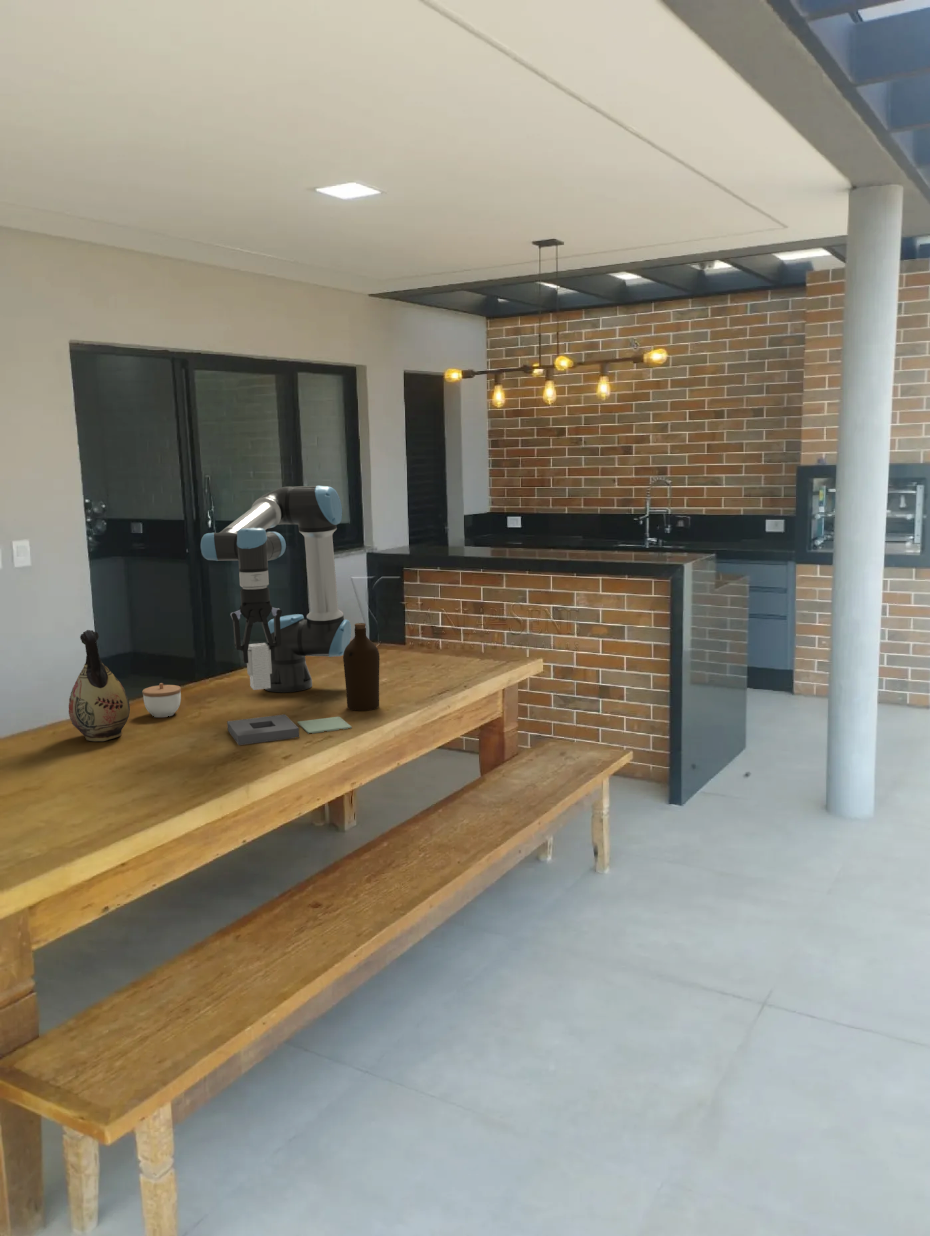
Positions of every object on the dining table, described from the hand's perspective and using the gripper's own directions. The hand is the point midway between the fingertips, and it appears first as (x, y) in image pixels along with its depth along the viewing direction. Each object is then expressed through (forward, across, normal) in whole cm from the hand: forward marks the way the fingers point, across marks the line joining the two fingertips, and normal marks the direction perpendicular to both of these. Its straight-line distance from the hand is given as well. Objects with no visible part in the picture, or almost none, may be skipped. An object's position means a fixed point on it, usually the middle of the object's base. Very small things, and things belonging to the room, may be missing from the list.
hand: (259, 673), depth 267 cm
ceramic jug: (+17, -40, +16) cm, 46 cm away
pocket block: (+17, 0, 0) cm, 17 cm away
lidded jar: (+17, -22, +34) cm, 44 cm away
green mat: (+17, +17, 0) cm, 24 cm away
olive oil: (+17, +33, +15) cm, 40 cm away
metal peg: (+4, 0, 0) cm, 4 cm away
